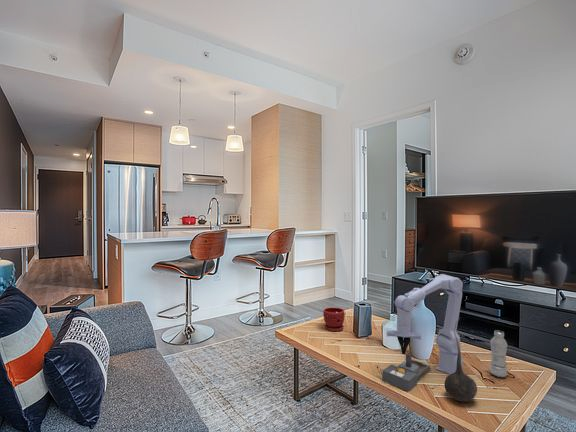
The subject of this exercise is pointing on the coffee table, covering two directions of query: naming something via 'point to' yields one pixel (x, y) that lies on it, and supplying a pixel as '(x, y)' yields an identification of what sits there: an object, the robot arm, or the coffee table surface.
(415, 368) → the carriage
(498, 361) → the plastic bottle
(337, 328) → the plant pot
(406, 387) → the grey open box
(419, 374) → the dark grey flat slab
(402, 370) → the button
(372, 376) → the coffee table surface
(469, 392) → the radish
